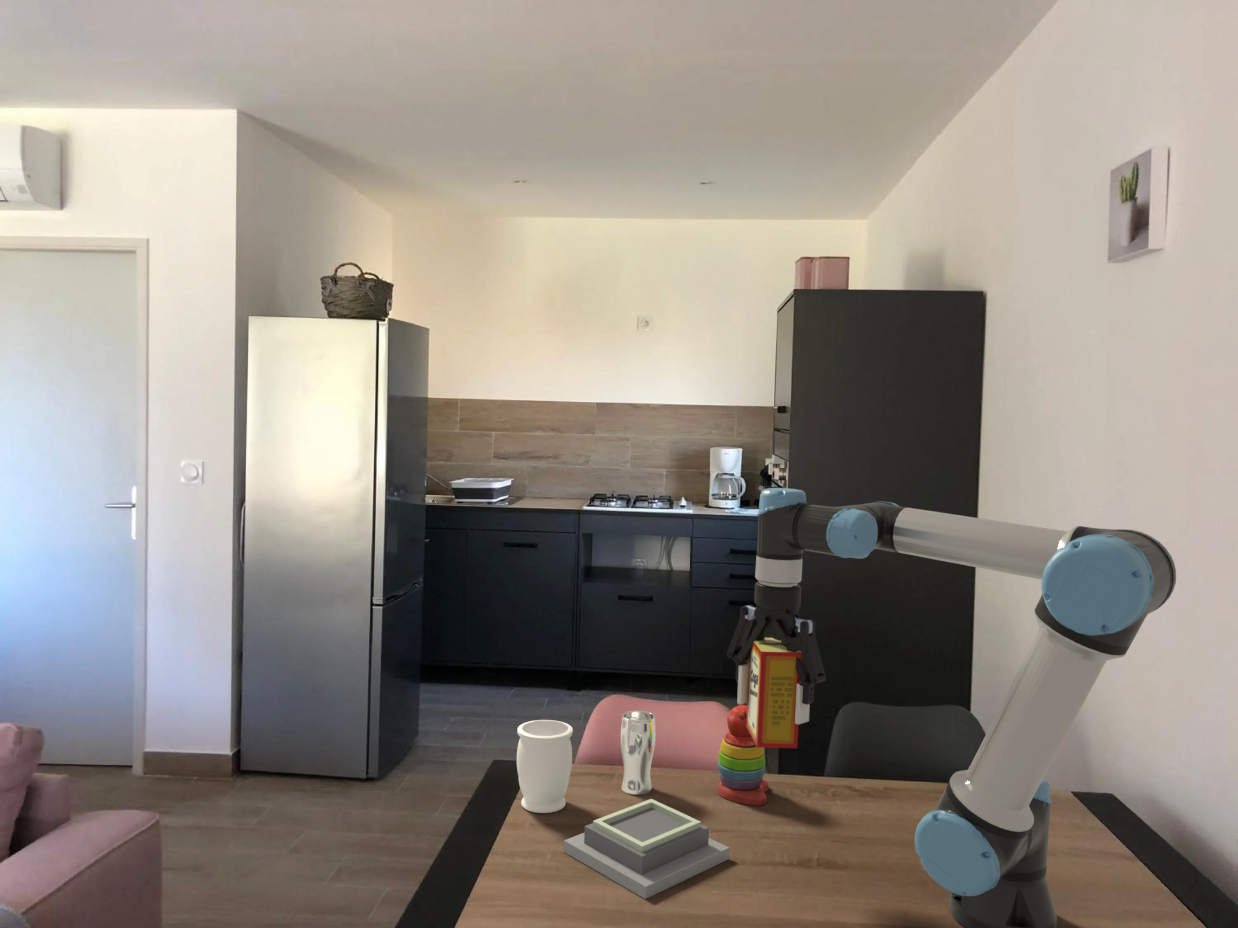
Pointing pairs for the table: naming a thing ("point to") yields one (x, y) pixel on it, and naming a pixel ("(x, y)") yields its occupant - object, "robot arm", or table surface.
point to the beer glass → (637, 751)
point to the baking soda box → (772, 694)
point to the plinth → (647, 847)
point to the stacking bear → (741, 763)
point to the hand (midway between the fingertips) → (772, 711)
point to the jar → (544, 764)
